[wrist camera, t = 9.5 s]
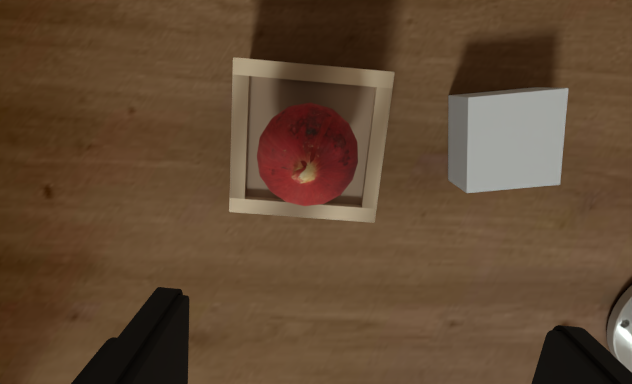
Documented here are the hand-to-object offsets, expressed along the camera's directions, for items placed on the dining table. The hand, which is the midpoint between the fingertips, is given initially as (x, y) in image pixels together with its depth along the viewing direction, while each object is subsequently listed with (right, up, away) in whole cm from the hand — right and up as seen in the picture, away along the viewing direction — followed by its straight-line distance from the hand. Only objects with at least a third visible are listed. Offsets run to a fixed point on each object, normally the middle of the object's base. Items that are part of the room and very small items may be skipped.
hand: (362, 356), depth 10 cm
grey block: (+13, +9, +22) cm, 27 cm away
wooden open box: (-2, +9, +22) cm, 24 cm away
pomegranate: (-2, +7, +16) cm, 18 cm away
